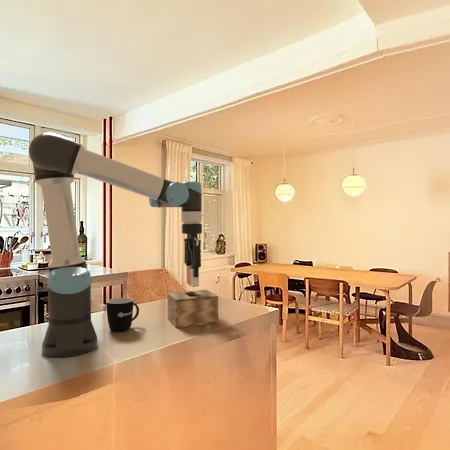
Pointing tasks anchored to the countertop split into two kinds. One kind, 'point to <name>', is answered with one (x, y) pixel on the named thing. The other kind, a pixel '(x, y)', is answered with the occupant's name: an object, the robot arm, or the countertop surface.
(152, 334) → the countertop surface
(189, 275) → the block
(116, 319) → the mug
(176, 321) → the coin box
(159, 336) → the countertop surface
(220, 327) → the countertop surface
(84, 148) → the robot arm
